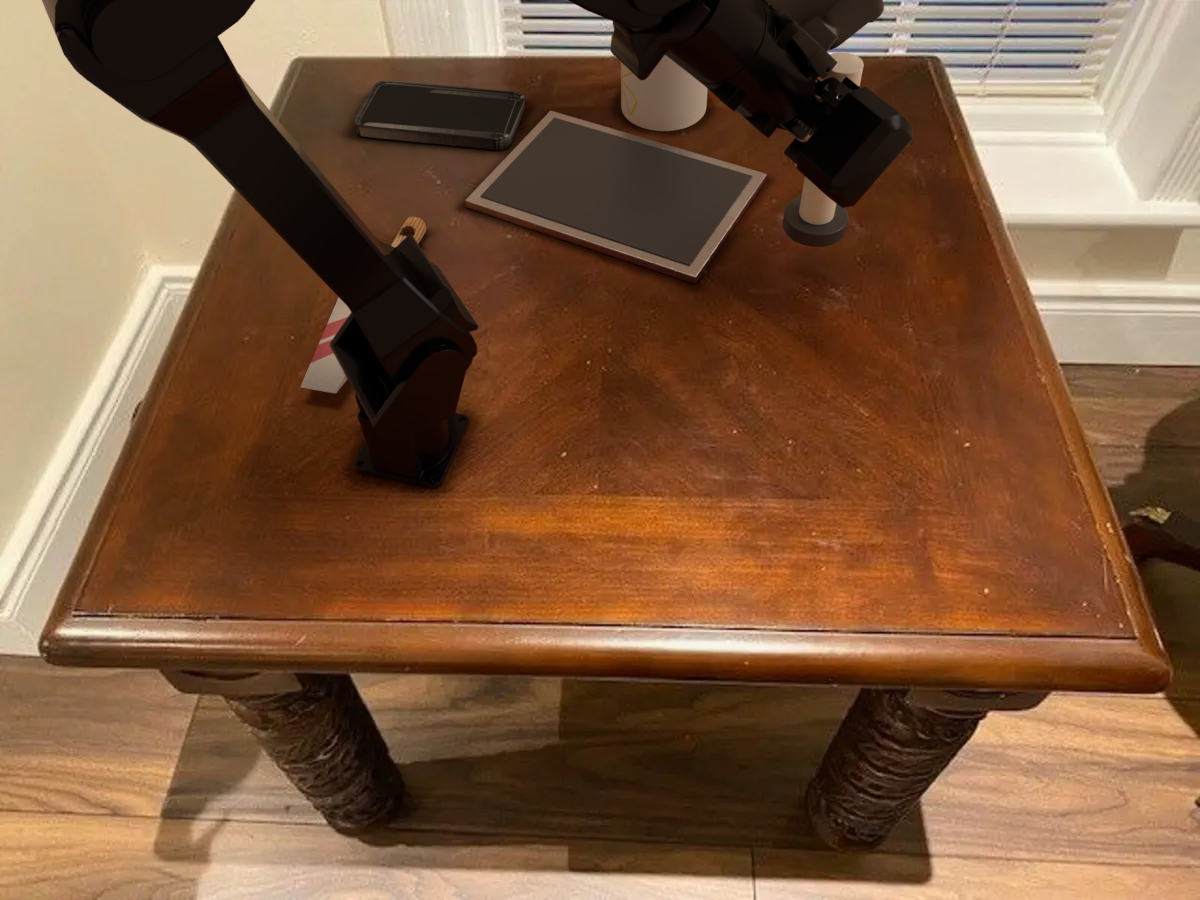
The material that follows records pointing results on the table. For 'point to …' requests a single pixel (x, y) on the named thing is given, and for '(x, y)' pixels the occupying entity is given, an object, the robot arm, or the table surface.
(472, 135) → the phone
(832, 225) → the peg on round base
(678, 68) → the cup
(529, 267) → the table surface
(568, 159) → the tablet
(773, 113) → the robot arm
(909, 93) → the table surface
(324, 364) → the paintbrush
